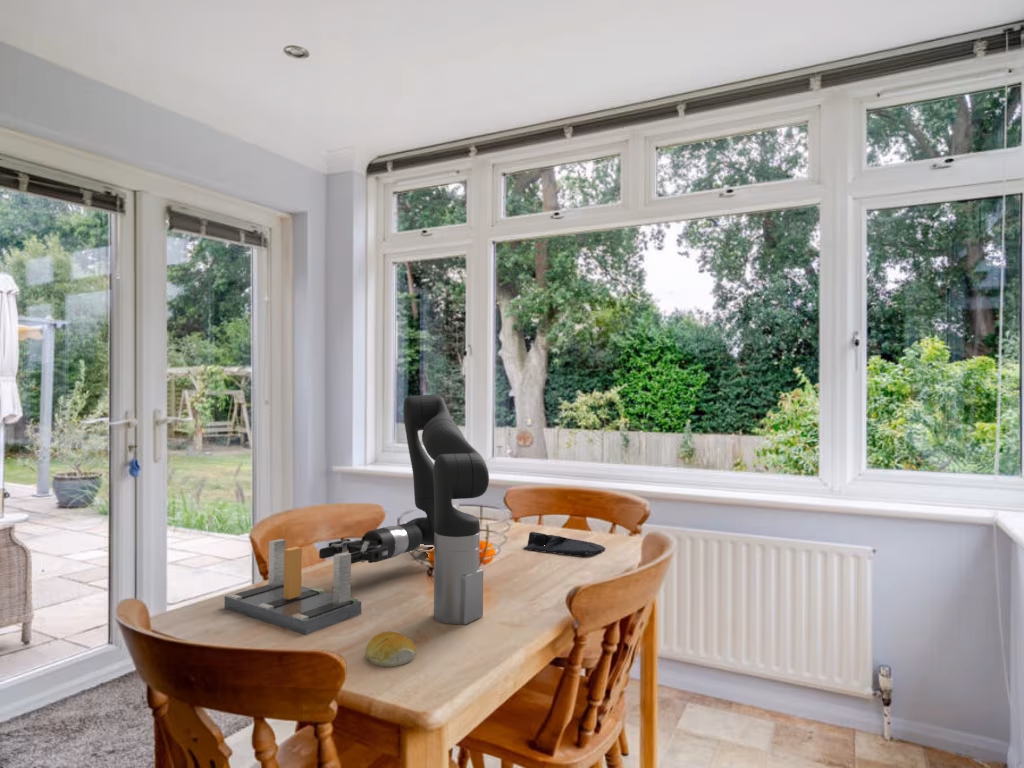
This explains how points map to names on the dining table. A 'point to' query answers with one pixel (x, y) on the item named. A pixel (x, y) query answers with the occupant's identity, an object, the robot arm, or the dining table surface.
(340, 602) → the grey slotted stand
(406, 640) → the bread roll
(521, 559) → the dining table surface
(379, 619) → the dining table surface
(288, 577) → the block
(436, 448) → the robot arm
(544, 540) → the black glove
